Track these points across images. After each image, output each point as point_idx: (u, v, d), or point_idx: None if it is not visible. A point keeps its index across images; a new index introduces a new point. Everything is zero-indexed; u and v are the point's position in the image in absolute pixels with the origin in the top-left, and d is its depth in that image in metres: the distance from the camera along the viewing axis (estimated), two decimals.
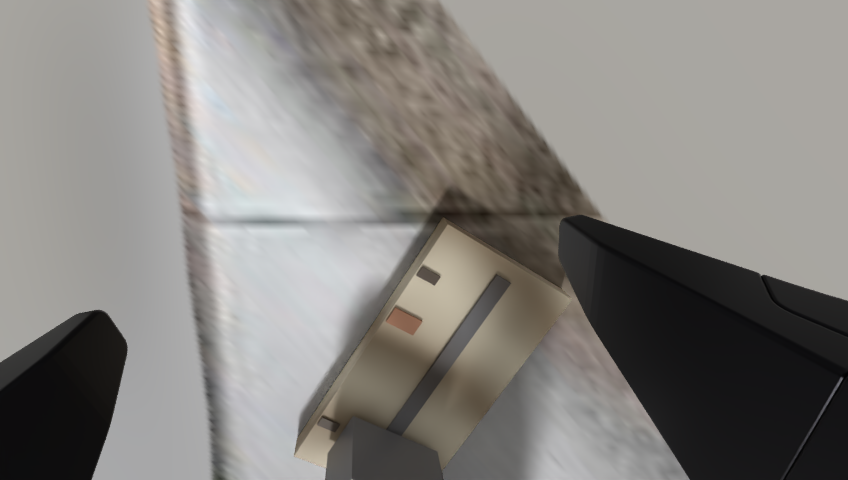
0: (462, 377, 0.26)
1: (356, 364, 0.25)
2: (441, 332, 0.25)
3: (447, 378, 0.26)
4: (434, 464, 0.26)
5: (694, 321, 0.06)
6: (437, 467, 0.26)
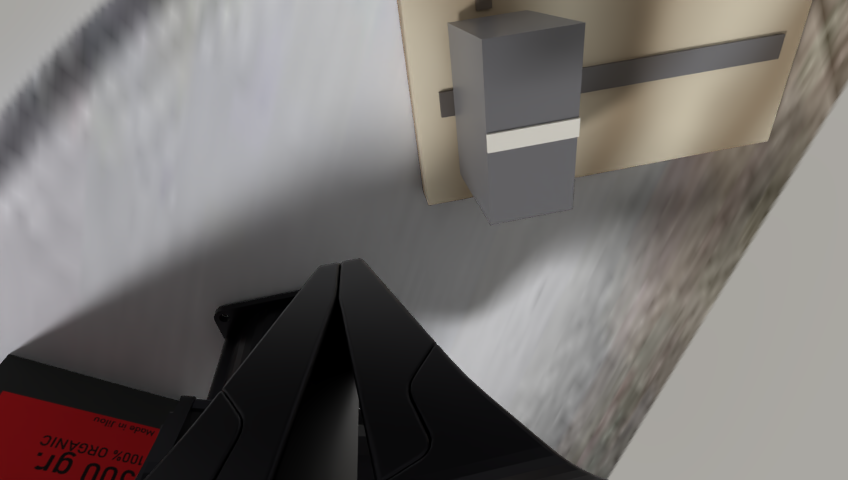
0: (630, 109, 0.19)
1: None
2: (684, 33, 0.18)
3: (622, 93, 0.19)
4: None
5: None
6: None
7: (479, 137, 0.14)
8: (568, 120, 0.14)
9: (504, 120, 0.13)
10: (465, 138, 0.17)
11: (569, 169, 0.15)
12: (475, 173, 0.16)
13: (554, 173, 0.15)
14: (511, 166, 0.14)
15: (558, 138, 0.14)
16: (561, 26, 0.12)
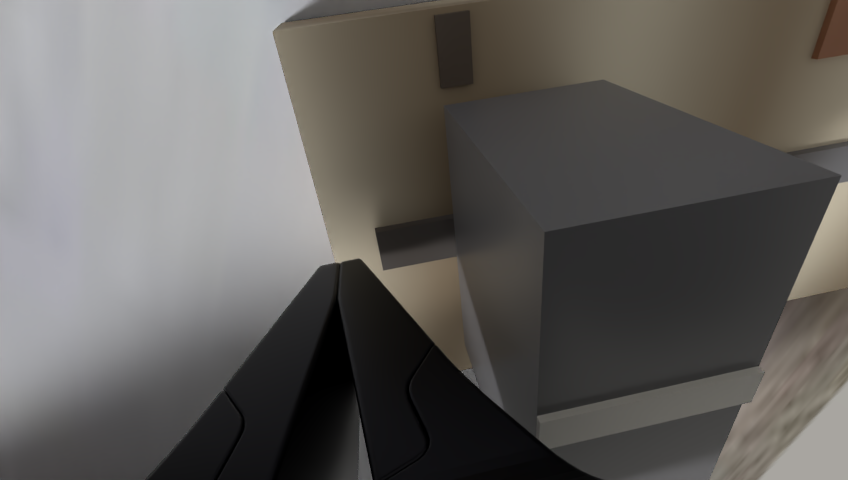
0: None
1: None
2: (825, 119, 0.10)
3: None
4: None
5: None
6: None
7: (513, 383, 0.06)
8: (737, 378, 0.06)
9: (584, 389, 0.05)
10: (477, 322, 0.09)
11: (711, 447, 0.07)
12: None
13: (678, 456, 0.07)
14: (587, 458, 0.06)
15: (706, 410, 0.06)
16: (771, 185, 0.04)
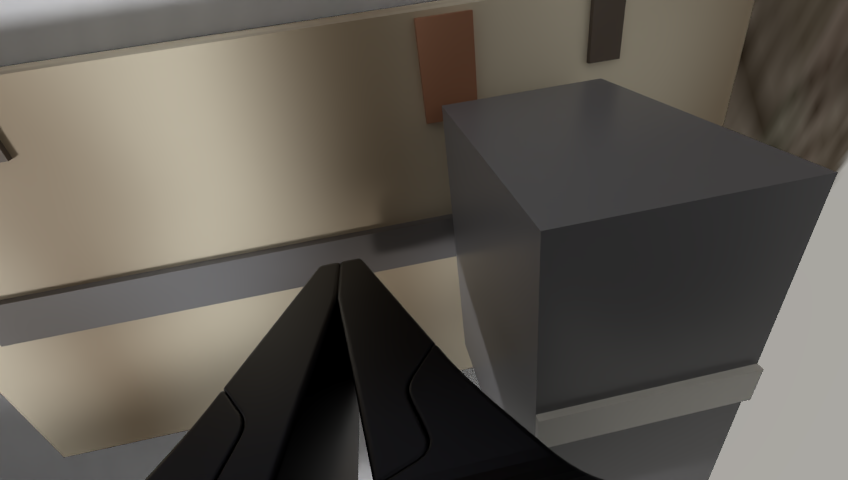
0: (405, 301, 0.11)
1: (221, 45, 0.07)
2: None
3: (380, 279, 0.10)
4: None
5: None
6: None
7: (513, 381, 0.06)
8: (736, 376, 0.06)
9: (582, 387, 0.05)
10: (476, 321, 0.09)
11: (711, 445, 0.07)
12: None
13: (678, 454, 0.07)
14: (587, 456, 0.06)
15: (705, 407, 0.06)
16: (767, 183, 0.04)
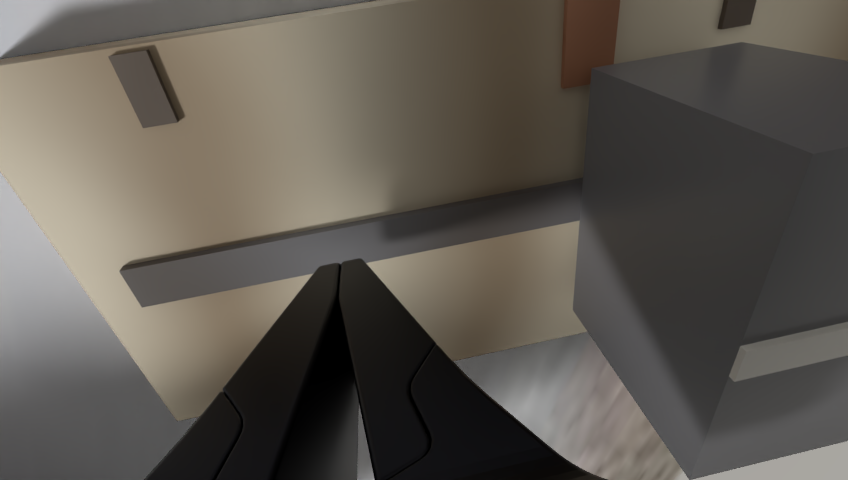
0: (513, 268, 0.11)
1: (386, 9, 0.07)
2: None
3: (494, 245, 0.10)
4: None
5: None
6: None
7: (690, 324, 0.07)
8: None
9: (788, 319, 0.06)
10: (612, 279, 0.09)
11: None
12: (642, 357, 0.08)
13: (843, 394, 0.07)
14: (767, 393, 0.06)
15: None
16: None
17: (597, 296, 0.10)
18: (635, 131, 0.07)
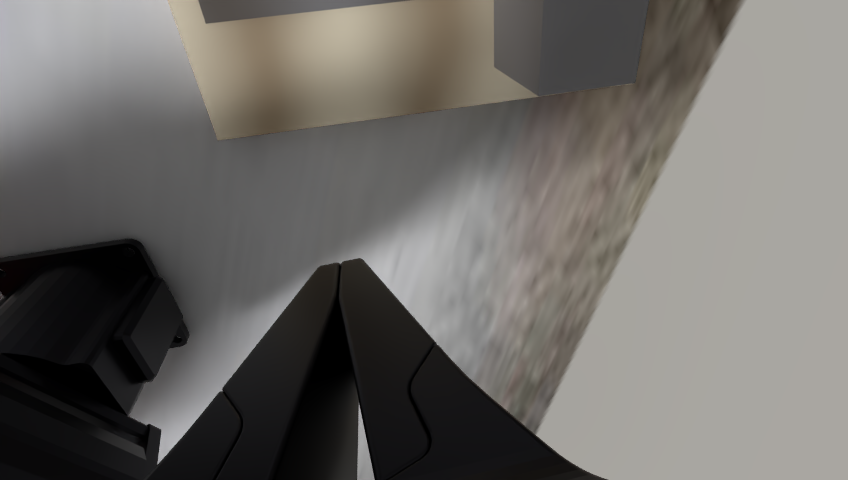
0: (453, 31, 0.16)
1: None
2: None
3: (439, 8, 0.16)
4: None
5: None
6: None
7: None
8: None
9: None
10: (507, 6, 0.14)
11: (638, 26, 0.12)
12: (519, 42, 0.14)
13: (620, 30, 0.12)
14: (570, 14, 0.12)
15: None
16: None
17: (502, 32, 0.15)
18: None
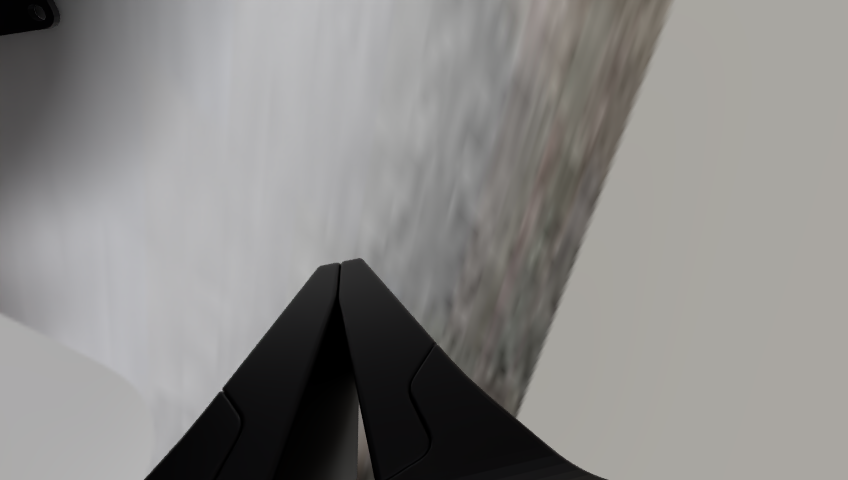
0: None
1: None
2: None
3: None
4: None
5: None
6: None
7: None
8: None
9: None
10: None
11: None
12: None
13: None
14: None
15: None
16: None
17: None
18: None
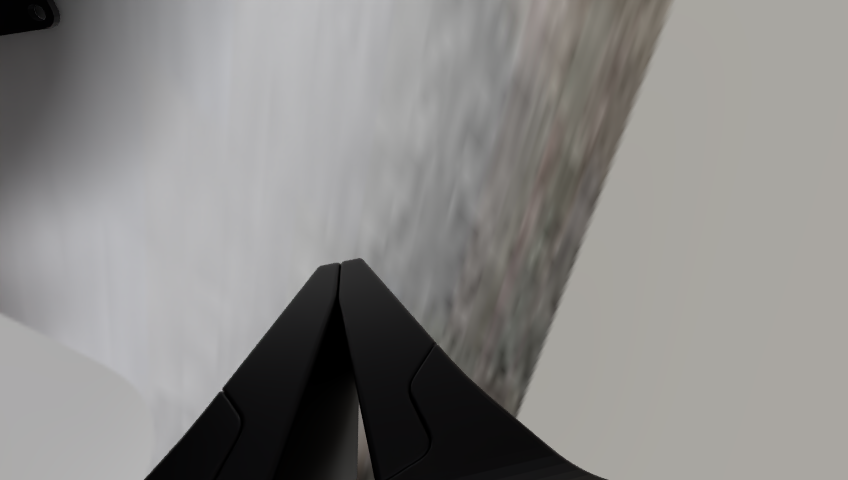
0: None
1: None
2: None
3: None
4: None
5: None
6: None
7: None
8: None
9: None
10: None
11: None
12: None
13: None
14: None
15: None
16: None
17: None
18: None
